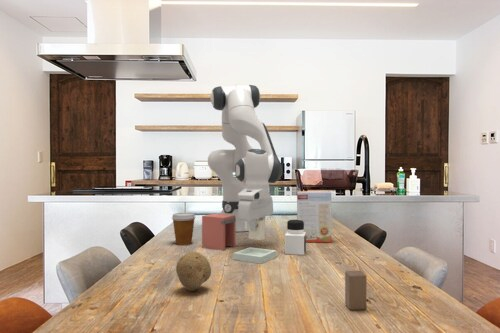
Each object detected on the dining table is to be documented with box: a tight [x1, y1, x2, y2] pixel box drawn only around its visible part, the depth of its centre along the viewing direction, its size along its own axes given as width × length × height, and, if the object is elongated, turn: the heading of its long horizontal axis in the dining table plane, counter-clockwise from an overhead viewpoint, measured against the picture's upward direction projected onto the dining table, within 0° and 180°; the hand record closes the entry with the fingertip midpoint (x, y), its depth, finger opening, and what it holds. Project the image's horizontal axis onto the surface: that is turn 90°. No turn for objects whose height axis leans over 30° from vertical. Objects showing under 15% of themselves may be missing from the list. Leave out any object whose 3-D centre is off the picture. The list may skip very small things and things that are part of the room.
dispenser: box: [201, 213, 237, 251], centre depth 160 cm, size 9×10×12 cm
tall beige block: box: [248, 219, 266, 241], centre depth 152 cm, size 4×5×7 cm
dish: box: [232, 246, 277, 265], centre depth 141 cm, size 11×11×2 cm
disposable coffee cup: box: [171, 212, 196, 246], centre depth 167 cm, size 10×10×12 cm
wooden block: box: [344, 270, 367, 311], centre depth 94 cm, size 4×4×8 cm
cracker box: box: [296, 190, 333, 243], centre depth 171 cm, size 14×6×21 cm, turn 84°
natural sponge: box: [175, 251, 212, 292], centre depth 107 cm, size 9×9×10 cm
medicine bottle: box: [284, 218, 307, 256], centre depth 150 cm, size 7×7×12 cm
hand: (257, 230), depth 152 cm, fingers closed on tall beige block, 3 cm apart
